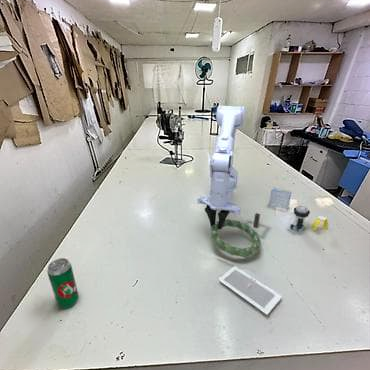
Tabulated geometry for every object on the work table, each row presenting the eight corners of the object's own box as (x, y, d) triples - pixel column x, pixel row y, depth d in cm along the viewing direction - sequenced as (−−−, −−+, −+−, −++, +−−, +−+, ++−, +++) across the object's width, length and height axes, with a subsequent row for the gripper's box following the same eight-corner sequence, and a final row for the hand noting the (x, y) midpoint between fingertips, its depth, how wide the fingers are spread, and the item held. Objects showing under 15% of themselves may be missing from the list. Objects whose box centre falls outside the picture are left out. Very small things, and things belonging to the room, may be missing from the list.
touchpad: (266, 318, 56) (267, 311, 55) (217, 282, 66) (218, 276, 65) (281, 299, 61) (283, 293, 60) (234, 268, 71) (234, 263, 70)
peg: (241, 230, 89) (243, 215, 87) (248, 221, 95) (250, 207, 93) (262, 237, 85) (265, 222, 83) (268, 227, 91) (271, 213, 89)
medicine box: (288, 207, 106) (292, 190, 103) (286, 212, 103) (290, 194, 99) (270, 203, 110) (273, 186, 107) (268, 207, 107) (271, 189, 103)
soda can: (61, 293, 62) (51, 257, 57) (81, 292, 62) (73, 256, 57) (53, 310, 57) (42, 272, 52) (75, 309, 58) (65, 271, 53)
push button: (300, 226, 93) (306, 203, 89) (310, 233, 88) (317, 210, 84) (286, 228, 91) (291, 205, 87) (295, 236, 86) (301, 212, 82)
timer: (321, 227, 91) (325, 214, 89) (327, 231, 89) (331, 218, 87) (309, 230, 90) (313, 217, 87) (315, 234, 87) (319, 220, 85)
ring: (200, 239, 75) (202, 233, 74) (222, 217, 87) (224, 212, 86) (249, 267, 68) (251, 261, 67) (265, 238, 80) (267, 233, 79)
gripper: (193, 189, 75) (192, 225, 81) (236, 201, 68) (231, 239, 73) (204, 182, 80) (202, 216, 86) (244, 192, 73) (240, 229, 79)
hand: (216, 226), depth 80 cm, fingers closed on ring, 2 cm apart
